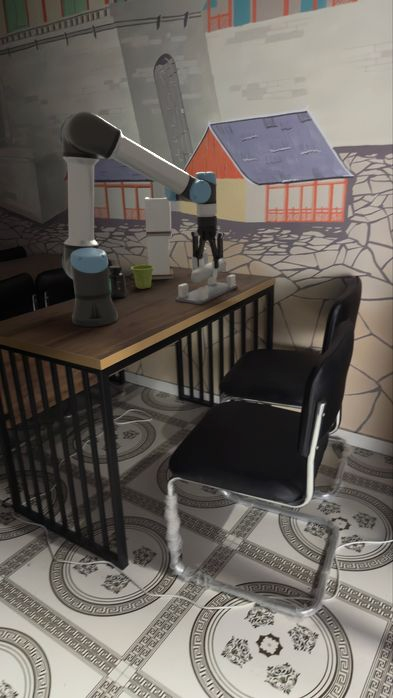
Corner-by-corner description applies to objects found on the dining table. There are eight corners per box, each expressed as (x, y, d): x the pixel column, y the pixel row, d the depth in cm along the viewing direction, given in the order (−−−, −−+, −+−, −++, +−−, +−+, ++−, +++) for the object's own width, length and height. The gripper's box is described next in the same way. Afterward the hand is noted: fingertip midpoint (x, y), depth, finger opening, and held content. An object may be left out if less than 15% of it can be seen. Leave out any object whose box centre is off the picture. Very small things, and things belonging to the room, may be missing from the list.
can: (192, 272, 236) (192, 247, 232) (208, 272, 236) (208, 246, 231) (191, 275, 229) (191, 249, 225) (208, 275, 229) (207, 249, 224)
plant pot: (151, 290, 205) (150, 269, 202) (129, 289, 207) (128, 269, 204) (157, 284, 214) (156, 264, 211) (136, 284, 215) (134, 264, 212)
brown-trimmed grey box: (172, 278, 224) (169, 198, 211) (149, 279, 224) (144, 198, 211) (173, 273, 235) (170, 196, 222) (150, 274, 235) (146, 197, 222)
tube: (202, 274, 182) (228, 260, 203) (190, 268, 184) (216, 256, 204) (198, 287, 185) (224, 272, 206) (186, 281, 186) (213, 267, 207)
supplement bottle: (109, 299, 193) (106, 268, 189) (108, 294, 199) (106, 265, 195) (126, 297, 194) (124, 267, 190) (125, 293, 201) (123, 264, 196)
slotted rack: (175, 300, 189) (175, 286, 187) (214, 284, 212) (214, 271, 210) (200, 304, 183) (199, 289, 181) (237, 287, 207) (237, 273, 205)
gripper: (232, 214, 185) (233, 276, 194) (191, 213, 194) (193, 272, 203) (223, 217, 179) (223, 280, 188) (181, 215, 188) (183, 275, 197)
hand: (208, 275), depth 195 cm, fingers closed on tube, 5 cm apart
